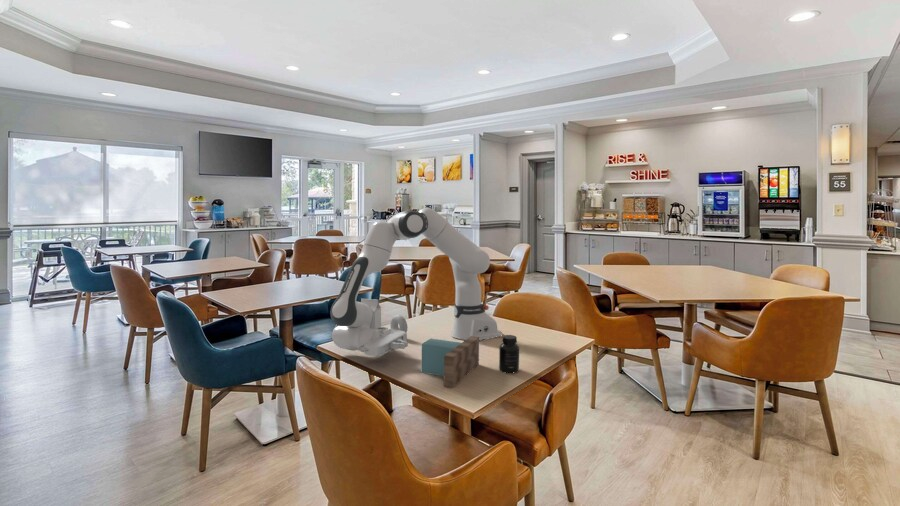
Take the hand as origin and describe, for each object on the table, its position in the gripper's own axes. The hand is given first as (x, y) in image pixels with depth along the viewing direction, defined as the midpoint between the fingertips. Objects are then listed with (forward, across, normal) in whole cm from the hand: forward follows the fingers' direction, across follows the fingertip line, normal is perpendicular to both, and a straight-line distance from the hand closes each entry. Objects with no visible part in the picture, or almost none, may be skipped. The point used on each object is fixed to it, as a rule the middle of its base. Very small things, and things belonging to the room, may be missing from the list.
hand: (405, 345), depth 165 cm
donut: (-19, +28, +7) cm, 35 cm away
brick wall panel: (+22, -1, +7) cm, 23 cm away
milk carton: (-24, +14, +7) cm, 28 cm away
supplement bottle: (+35, +10, +8) cm, 37 cm away
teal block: (+14, -1, +7) cm, 16 cm away
